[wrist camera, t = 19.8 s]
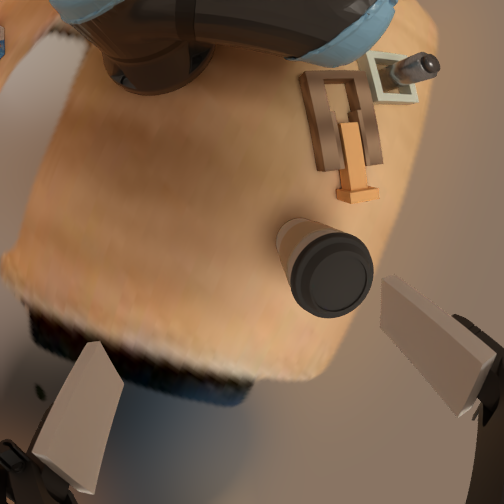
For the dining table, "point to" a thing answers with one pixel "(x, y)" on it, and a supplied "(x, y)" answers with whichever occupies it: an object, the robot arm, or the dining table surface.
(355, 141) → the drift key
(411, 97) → the square frame
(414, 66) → the dark grey cylinder
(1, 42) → the ink box
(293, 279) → the coffee cup
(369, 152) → the socket block
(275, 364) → the dining table surface
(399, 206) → the dining table surface
